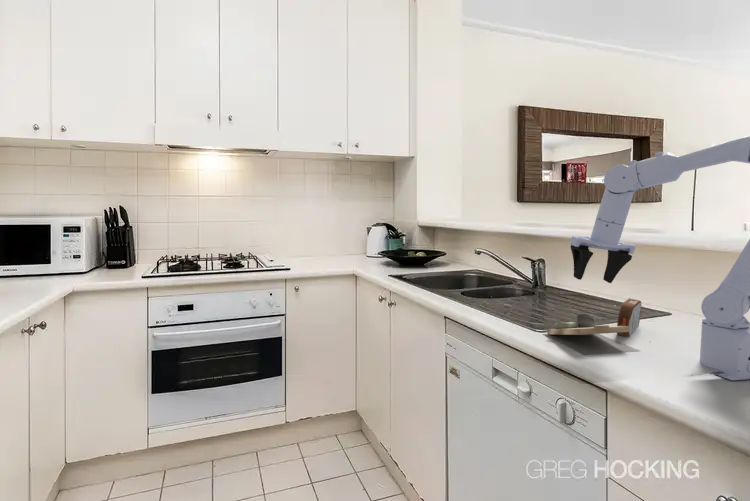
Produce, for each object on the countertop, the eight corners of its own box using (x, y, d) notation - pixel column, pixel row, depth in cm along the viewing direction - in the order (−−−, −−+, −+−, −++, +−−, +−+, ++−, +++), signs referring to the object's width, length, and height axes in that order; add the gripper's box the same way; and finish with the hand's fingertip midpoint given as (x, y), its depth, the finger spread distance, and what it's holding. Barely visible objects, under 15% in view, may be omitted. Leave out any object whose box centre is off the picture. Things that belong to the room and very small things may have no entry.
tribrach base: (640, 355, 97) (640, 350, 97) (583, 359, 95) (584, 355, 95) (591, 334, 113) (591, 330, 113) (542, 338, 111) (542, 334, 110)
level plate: (546, 334, 110) (544, 316, 111) (589, 331, 112) (587, 314, 113) (582, 334, 97) (579, 314, 97) (630, 331, 98) (627, 311, 99)
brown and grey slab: (628, 327, 120) (629, 295, 119) (642, 329, 118) (643, 296, 117) (614, 340, 108) (616, 305, 107) (630, 343, 106) (631, 307, 105)
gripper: (627, 221, 106) (609, 276, 109) (570, 213, 103) (554, 270, 107) (649, 228, 99) (629, 287, 103) (588, 220, 96) (571, 281, 100)
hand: (592, 279), depth 104 cm, fingers open, 7 cm apart
